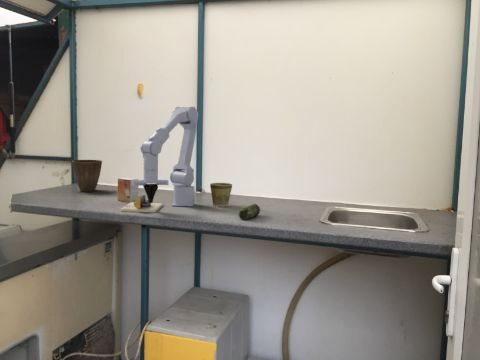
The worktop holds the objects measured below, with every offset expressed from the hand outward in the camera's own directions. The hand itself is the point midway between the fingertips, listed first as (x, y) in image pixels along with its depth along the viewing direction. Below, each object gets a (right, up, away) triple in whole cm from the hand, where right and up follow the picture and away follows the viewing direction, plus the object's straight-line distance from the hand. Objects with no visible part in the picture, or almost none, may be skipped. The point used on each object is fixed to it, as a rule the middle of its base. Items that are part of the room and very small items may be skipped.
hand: (150, 202), depth 168 cm
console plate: (-4, -3, +5) cm, 7 cm away
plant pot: (-44, +3, +48) cm, 65 cm away
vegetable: (+41, -6, -6) cm, 42 cm away
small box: (-15, -1, +22) cm, 27 cm away
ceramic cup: (+29, -3, +19) cm, 34 cm away
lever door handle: (-4, -2, +3) cm, 5 cm away
